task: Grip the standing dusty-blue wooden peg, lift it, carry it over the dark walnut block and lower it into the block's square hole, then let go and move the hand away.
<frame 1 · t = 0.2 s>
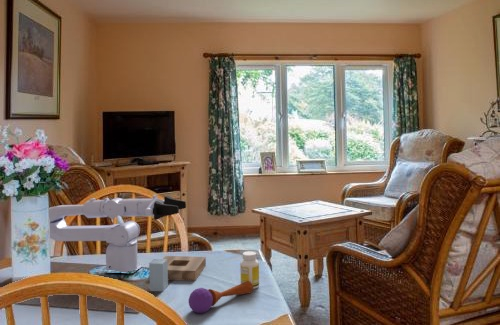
hand: (182, 207, 126), 21 cm above the table, tool horizontal, fingers open, 7 cm apart
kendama: (222, 304, 104), on the table
peg: (159, 288, 114), on the table
supplement bottle: (249, 286, 115), on the table
socket block: (179, 272, 128), on the table
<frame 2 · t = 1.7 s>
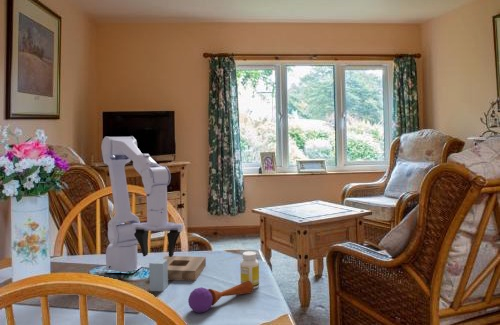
hand: (158, 255, 113), 10 cm above the table, tool pointing down, fingers open, 7 cm apart
nothing on the table moved.
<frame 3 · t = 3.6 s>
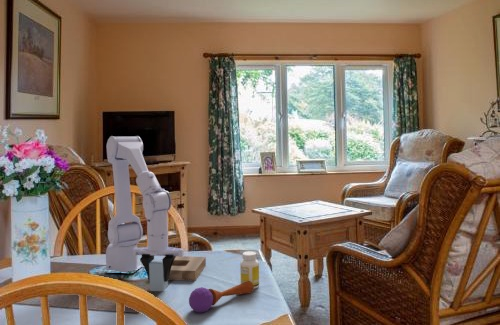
hand: (158, 280, 114), 2 cm above the table, tool pointing down, fingers closed on peg, 4 cm apart
peg: (159, 288, 114), on the table, touching gripper
everything else where it was.
when the fingers open (4 cm above the table, at t = 11.2 s): peg drops 2 cm, resting in socket block.
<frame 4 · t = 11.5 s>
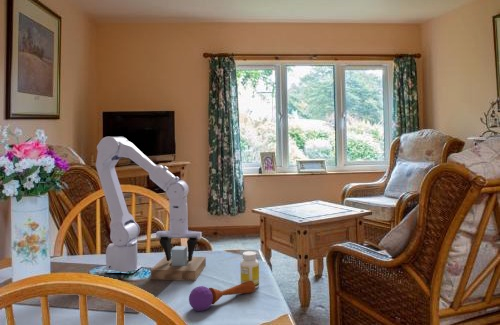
hand: (179, 260, 127), 4 cm above the table, tool pointing down, fingers open, 6 cm apart
peg: (179, 272, 128), resting in socket block
everything else where it was.
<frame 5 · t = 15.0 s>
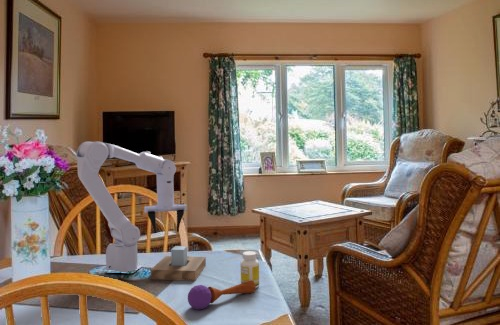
hand: (166, 231, 139), 10 cm above the table, tool pointing down, fingers open, 7 cm apart
at the end: peg 0.0 cm off-centre on the socket block, point 0.0 cm above the socket block's base; peg tilted 0°; the gripper is holding nothing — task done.
